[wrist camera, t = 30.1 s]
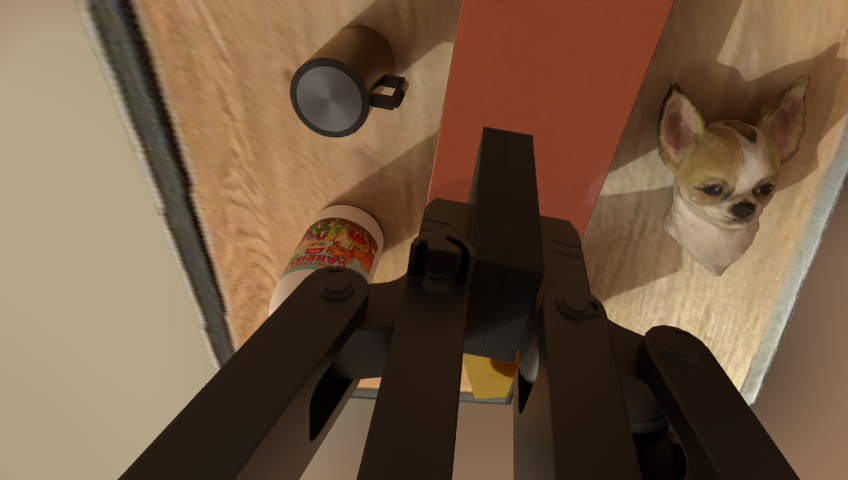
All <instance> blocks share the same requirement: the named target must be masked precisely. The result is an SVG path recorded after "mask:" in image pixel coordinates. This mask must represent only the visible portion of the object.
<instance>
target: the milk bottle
mask: <svg viewBox="0 0 848 480" xmlns="http://www.w3.org/2000/svg"><path fill="white" fill-rule="evenodd" d="M383 243H384V241H383V234H382V231H381V229H380V227H379V225H378V224H377V222H376V221H375V219H374V218H372V217H371V215H369V214H368V213H366V212H365V211H363V210H361V209H359V208H357V207H353V206H349V205H335V206H331V207H328V208H326V209H324V210H322V211H321V212H319V213H318V214H317V215H316V216H315V218H314V219H313V221H312V222H311V224H310V226H309V228H308V229H307V231H306V233H305V235H304V236H303V238H302V240H301V242H300V243H299V245H298V247H297V249H296V250H295V252H294V254H293V256H292V258H291V259H290V261H289V263H288V265H287V267H286V269H285V270H284V272H283V274H282V276H281V278H280V280H279V282H278V284H277V286H276V288H275V290H274V293H273V296H272V299H271V303H270V308H269V316H270V315H271V314H272V313H273V312H274V311H275V310H276V309H277V308H278V307H279V306H280V305H281V304H282V302H283V301H284V300H285V299H286V298H287V297H288V296H289V295H290V294H291V293H292V292H293V291H294V290H295V288H296V287H297V286H298V285H299V284H300V283H301V282H302V281H303V280H304V279H305V278H306V277H307V276H308V275H309V274H311V273H312V272H314V271H315V270H317V269H321V268H324V267H327V266H342V267H347V268H351V269H353V270H355V271H357V272H359V273H361V274H362V275H363V276H364V278H365V279H366V280H367V281H368V284H371V283H372V280H373V277H374V274H375V271H376V268H377V265H378V262H379V259H380V256H381V252H382V249H383Z"/></svg>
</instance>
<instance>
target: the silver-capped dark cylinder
mask: <svg viewBox="0 0 848 480" xmlns="http://www.w3.org/2000/svg"><path fill="white" fill-rule="evenodd" d="M393 68H394V58H393V53H392V50H391V48H390V46H389V44H388V43H387V41H386V40H385V39H384V37H383V36H382V35H381V34H379V33H378V32H377V31H375V30H373V29H371V28H369V27H365V26H359V25H356V26H350V27H346V28H344V29H342V30H341V31H340V32H338V33H337V34H336V35H335V36H334V37H333V38H332V39H330V40H329V41H328V42H327V43H326V44H325V45H324V46H323V47H322V48H321V49H319V50H318V51H317V52H316V53H315V54H314V55H313V56H312V57H311V58H309V59H308V60H307V61H306V62H305V63H304V64H303V65H302V66H301V67H300V68H299V69H298V70H297V71H296V72H295V74H294V76H293V78H292V81H291V86H290V98H291V103H292V106H293V108H294V111H295V113H296V114H297V116H298V117H299V119H300V120H301V121H302V122H303V123H304V124H305V125H306V126H307V127H308V128H309V129H311V130H312V131H314V132H316V133H318V134H320V135H323V136H327V137H344V136H348V135H350V134H352V133H354V132H356V131H357V130H358V129H359V128H360V127H361V126H362V125H363V124H364V122H365V121H366V119H367V117H368V116H369V114H370V112H371V110H372V109H373V107H378V108H383V109H388V110H393V109H394V108H398V107H399V106H400V105H401V103H402V100H403V98H404V96H405V94H406V92H407V90H408V88H409V83H408V81H406V79H405V78H404V77H399V76H393V75H392V73H393ZM385 87H390V88H395V89H396V90H395V92H394V94H393V96H388V95H383V94H381V93H382V92H383V90H384V88H385Z"/></svg>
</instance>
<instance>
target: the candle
mask: <svg viewBox="0 0 848 480" xmlns="http://www.w3.org/2000/svg"><path fill="white" fill-rule="evenodd" d="M463 363H464V366H465V369H466V372H467V375H468V378H469V381H470V384H471V387H472V392H473V394H474V396H475V398H493V397H507V395H508V392H509V390H510V387H511V384H512V381H513V378H514V376H515V373H516V370H517V367H518V365H519V348H518V351H517V354H516V357H515V359H514V362H513V363H512V362H507V361H501V360H496V359H491V358H486V357H480V356H475V355H470V354H465V353H463Z"/></svg>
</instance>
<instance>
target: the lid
mask: <svg viewBox="0 0 848 480" xmlns="http://www.w3.org/2000/svg"><path fill="white" fill-rule="evenodd" d="M673 3H674V0H462V3H461V8H460V14H459V20H458V25H457V31H456V37H455V42H454V48H453V54H452V60H451V65H450V71H449V77H448V82H447V88H446V94H445V100H444V105H443V111H442V117H441V122H440V128H439V134H438V139H437V145H436V151H435V157H434V162H433V168H432V174H431V179H430V185H429V191H428V197H427V202H426V206H427V205H428V204H429V203H430V202H432V201H433V200H434V199H435V198H440V199H446V200H451V201H457V202H462V203H467V202H468V197H469V192H470V188H471V183H472V178H473V173H474V169H475V164H476V159H477V155H478V150H479V145H480V140H481V136H482V131H483V126H484V127H490V128H495V129H501V130H507V131H512V132H518V133H524V134H529V135H533V144H534V156H535V167H536V178H537V189H538V200H539V212H540V215H542V216H547V217H553V218H558V219H564V220H569V221H570V222H571V224H572V225H573V226H574V227H575V229H576V230H577V231H578V233H579V236H580V241H581V240H582V237H583V234H584V232H585V229H586V227H587V224H588V222H589V219H590V216H591V214H592V211H593V209H594V206H595V204H596V201H597V198H598V196H599V193H600V191H601V188H602V186H603V183H604V180H605V178H606V175H607V173H608V170H609V168H610V165H611V162H612V160H613V157H614V155H615V152H616V150H617V147H618V144H619V142H620V139H621V137H622V134H623V132H624V129H625V126H626V124H627V121H628V119H629V116H630V114H631V111H632V108H633V106H634V103H635V101H636V98H637V96H638V93H639V90H640V88H641V85H642V83H643V80H644V77H645V75H646V72H647V70H648V67H649V65H650V62H651V59H652V57H653V54H654V52H655V49H656V47H657V44H658V41H659V39H660V36H661V34H662V31H663V29H664V26H665V23H666V21H667V18H668V16H669V13H670V11H671V8H672V5H673Z"/></svg>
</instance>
